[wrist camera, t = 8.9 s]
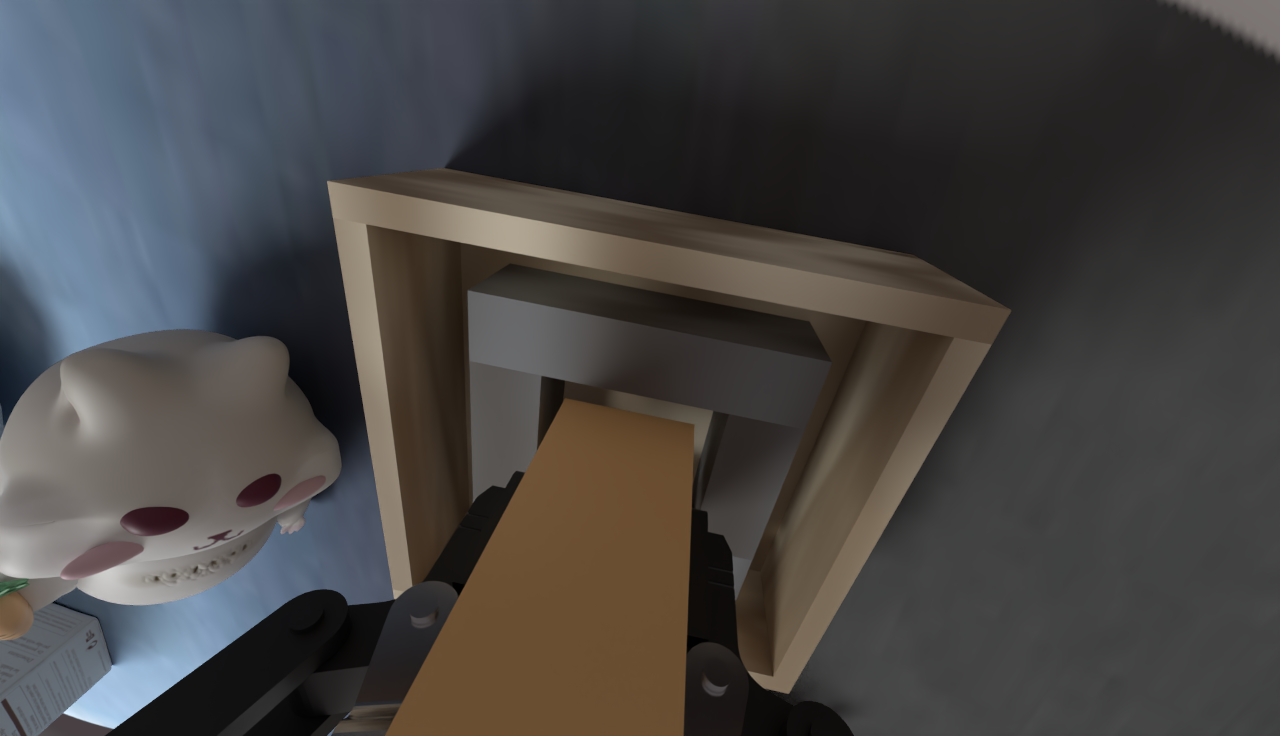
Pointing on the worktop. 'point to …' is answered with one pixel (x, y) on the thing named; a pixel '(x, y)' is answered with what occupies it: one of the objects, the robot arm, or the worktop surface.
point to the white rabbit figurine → (153, 470)
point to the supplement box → (49, 669)
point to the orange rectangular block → (574, 593)
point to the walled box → (652, 371)
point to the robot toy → (1, 423)
